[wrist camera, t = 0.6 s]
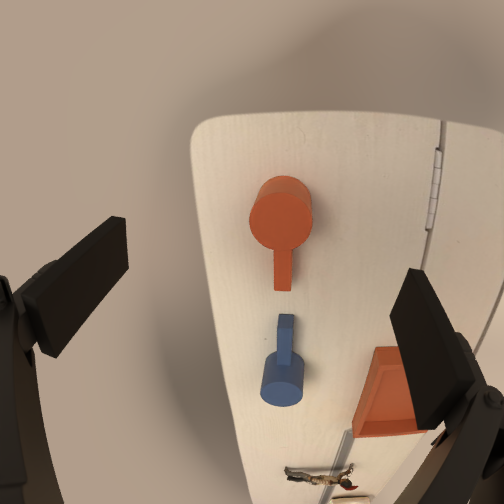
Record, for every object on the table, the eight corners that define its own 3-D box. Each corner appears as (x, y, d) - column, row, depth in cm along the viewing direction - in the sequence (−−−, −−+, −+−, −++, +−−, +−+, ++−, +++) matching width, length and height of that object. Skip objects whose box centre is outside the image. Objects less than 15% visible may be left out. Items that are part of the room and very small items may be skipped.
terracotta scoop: (307, 278, 32) (307, 309, 28) (260, 276, 33) (253, 306, 29) (311, 176, 27) (313, 193, 23) (256, 175, 28) (247, 192, 24)
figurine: (296, 458, 57) (366, 463, 49) (296, 474, 56) (365, 480, 48) (283, 466, 52) (358, 474, 44) (282, 483, 51) (356, 492, 43)
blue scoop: (264, 312, 35) (258, 344, 31) (308, 314, 34) (308, 347, 30) (265, 374, 40) (260, 405, 36) (302, 377, 39) (301, 407, 35)
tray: (375, 346, 35) (379, 365, 33) (461, 343, 34) (469, 360, 31) (351, 421, 43) (352, 438, 40) (423, 417, 41) (426, 432, 39)
